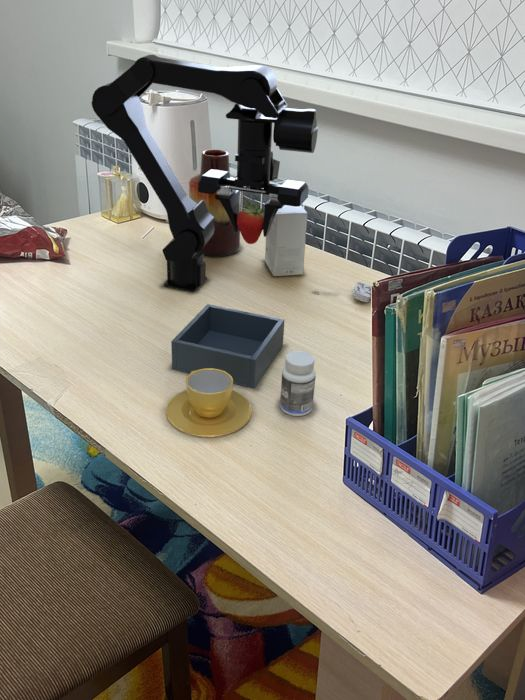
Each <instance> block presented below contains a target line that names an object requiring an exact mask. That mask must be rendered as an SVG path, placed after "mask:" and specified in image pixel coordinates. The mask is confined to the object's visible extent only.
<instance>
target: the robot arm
mask: <svg viewBox="0 0 525 700" xmlns="http://www.w3.org/2000/svg"><path fill="white" fill-rule="evenodd" d="M277 81H278V80H277V78H276V75H275V73H274V72H273V71H272V69H271V68H269V67H268V66H265V65H260V64H259V65H239V66H231V67H230V66H229V67H228V66H227V67H226V66H225V67H221V66H215V65H210V64H203V63H197V62H192V61H191V62H190V61H185V60H179V59H173V58H166V57H161V56H158V55H155V54H148V55H147V54H146V55H143V56H141V57H139V58H138V59H136V61H135V62H134V63H133V64H132V65H131V66H130V67H129V68H128V69H126V71H124V72H123V73H121V75H119V76H118V77H117V78H115V79H114V80H113V81H111V82H109V83H107V84H103V85H102V86H99V87H97V88H96V89H95V90H94V92H93V94H92V98H91V108H92V110H93V112H94V114H95V115H96V116H97V117H98V119H99V120H100V121H101V122H102V123H103V125H104V126H105V127H106V128H107V129H108V130H110V132H112V133H113V134H115V135H116V136H117V137H119V139H121V140H122V141H123V142H124V144H125V146H126V147H127V149H128V150H129V152H130V154H131V155H132V157H133V159H134V161H135V162H136V163H137V165H138V167H139V168H140V170H141V172H142V173H143V175H144V176H145V179H146V180H147V182H148V183H149V186H151V188H152V190H153V191H154V193H155V195H156V196H157V198H158V199H159V201H160V203H161V205H162V206H163V207H164V209H165V211H166V215H167V222H168V227H169V231H170V233H171V236H172V237H173V238H172V239H171V240H170V241H169V242H168V243H167V244H166V245H165V246H164V247H163V248H162V249H161V250H162V253H163V256H164V259H165V260H166V278H167V279H166V281H164V282H163V287H166V288H169V289H174V290H180V291H184V292H185V291H186V292H190V293H194V292H197V290H198V289H199V288H200V287H201V286H202V285H204V283H206V281H208V276H207V266H206V265H207V263H206V260H204V256H203V253H202V252H199V251H200V250H201V249H202V248H203V247H204V246H205V245H206V243H207V242H208V241H209V240H210V239H211V237H212V236H213V234H214V229H215V226H214V223H213V221H212V220H213V219H214V217H213V216H212V215H211V214H210V212H209V211H208V209H207V207H206V204H205V202H204V201H203V200H201V201H200V202H199V203H198V204H197V203H196V202H194V201H193V200H192V199H190V198H189V195H188V194H187V192H186V191H185V189H184V187H183V186H182V184H181V183H180V180H179V178H178V177H177V175H176V173H175V172H174V170H173V169H172V167H171V165H170V164H169V162H168V160H167V158H166V156H165V155H164V154H163V152H162V150H161V149H160V147H159V145H158V143H157V142H156V140H155V139H154V137H153V135H152V134H151V131H150V130H149V129H148V127H147V123H146V117H145V113H144V107H143V104H142V102H141V99H140V97H141V96H142V95H143V94H144V93H146V91H147V90H148V89H149V88H150V87H151V86H152V85H153V84H155V85H156V84H157V85H162V86H169V87H173V88H179V89H187V90H193V91H198V92H204V93H209V94H214V95H218V96H220V97H222V98H224V99H226V100H227V101H229V102H231V103H234V106H233V107H232V109H231V110H230V111H229V112H227V113H226V114H225V118H226V119H229V120H237V153H236V154H235V155H234V162H236V179H233V178H230V175H231V173H230V174H229V172H228V171H220V170H213V169H211V170H209V171H208V172H206V173H205V174H203V175H202V176H201V177H200V178H199V181H198V191H199V192H200V193H207V194H215V193H216V192H217V195H215V199H217V200H220V202H221V204H222V205H223V207H224V209H225V211H226V212H227V214H228V216H229V219H230V221H231V223H232V226H233V228H234V230H235V232H238V231H239V228H238V226H237V216H238V214H239V198H240V192H241V193H242V192H246V193H253V194H258V195H259V194H260V195H267V196H268V198H269V199H268V200H267V201H266V202H265V204H264V209H265V210H264V212H263V215H264V224H263V230H262V232H263V233H262V234H263V237H265V238H266V236H267V235H268V232H269V230H270V227H271V225H272V222H273V220H274V217H275V215H276V213H277V211H278V209H281V208H282V207H283V206H284V205H288V206H295V207H297V206H303V204H304V202H305V201H306V200H307V199H308V198H309V186H308V184H307V182H306V181H300V180H291V179H286V180H285V181H284V182H283V183H282V184H276V183H271V182H273V181H274V180H278V178H279V171H280V165H281V161H279V160H277V159H275V158H274V153H273V152H274V151H273V149H272V141H273V143H274V144H275V147H278V149H279V150H280V151H289V152H298V153H299V152H300V153H309V154H314V152H315V149H316V146H317V139H318V133H319V132H318V131H319V127H317V126H318V124H317V123H318V121H317V110H316V109H315V108H305V109H301V108H290V107H289V105H288V103H287V102H286V100H285V98H284V97H283V95H282V94H281V92H280V90H279V89H278V82H277ZM272 139H273V140H272Z"/></svg>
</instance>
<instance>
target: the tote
mask: <svg viewBox="0 0 525 700" xmlns="http://www.w3.org/2000/svg"><path fill="white" fill-rule="evenodd" d="M284 334H285V319H283V318H279V317H274V316H268V315H264V314H258V313H255V312H248V311H244V310H239V309H234V308H229V307H225V306H220V305H215V304H209V303H207V304H206V305H205V306H204V307H203V308H202V309H201V310H200V311H199V312H198V313H197V314H196V315H195V316H194V317H193V318H192V319H191V320H190V321H189V322H188V323H187V324H186V325H185V326H184V327H183V328H182V329H181V331H179V333H177V335H176V336H175V337H174V338H173V339H172V340H171V342H170V344H171V346H170V348H171V369H172V370H173V371H179V372H184V373H186V374H187V373H188V374H190V373H191V371H194V370H200V369H206V368H213V369H219V370H222V371H225V372H227V373H228V374H230V375H231V377H232V378H233V385H238V386H243V387H246V388H251V389H256V387H257V386H258V384H259V382H260V381H261V379H262V378H263V376H264V375H265V374H266V372H267V371H268V369H269V368H270V366H271V365H272V363H273V362H274V360H275V359H276V357H277V356H278V354H279V353H280V351H281V350H282V348H283V346H284V336H285V335H284Z"/></svg>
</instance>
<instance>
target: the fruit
mask: <svg viewBox="0 0 525 700" xmlns="http://www.w3.org/2000/svg"><path fill="white" fill-rule="evenodd" d="M243 203H244V206H245V207H246V208H244V209H243V210H241V212H239V214H238V216H237V226H238V228H239V230H240V236H241V237H242V239H243V240H244V242H245V243H247V244H249V245H254V244H256V243H257V242H258V240H259V239H260V237H261V234H262V232H263V224H264V210H265V207H262V208H259V203H258V201H256V203H255V204H254V203H253V201H251V202H250V203H249V204H248V202H247V201H244V202H243Z"/></svg>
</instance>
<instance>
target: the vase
mask: <svg viewBox="0 0 525 700" xmlns="http://www.w3.org/2000/svg"><path fill="white" fill-rule="evenodd" d="M211 169H213V170H220V171H228V172H229V174H230V178H233V179H236V178H237V176H235V175H232V174H231V172H230V171H231V170H230V155H229V152H228V151H226V150H224V149H214V148H213V149H205V150H203V151H201V160H200V171H199V172H200V173H198V174H196V175H194V176H192V177H190V179H189V180H188V197H189V198H190V199H192V200H193V201H194V202H196V203H197V204H198V203H199V202H200V201H201V200H203V201H204V202H205V204H206V207H207V209H208V211H209V212H210V214H211V215H212V216H213V217H214V219H213V220H212V221H213V223H214V226H215V229H214V234H213V236H212V237H211V239H210V240H209V241H208V242H207V243H206V245H205V246H204V247H203V248H202V249H201V250H200V251H199V252H202V253H203V257H212V258H222V257H227V256H231V255H234V254H236V253H237V252H238V251H239V250H240V246H241V232H240V230H239V231H238V232H235V230H234V228H233V226H232V223H231V221H230V219H229V216H228V214H227V212H226V211H225V209H224V207H223V205H222V204H221V202H220V200H217V199H215V195H217V192H216V193H215V194H207V193H200V192H199V191H198V181H199V178H200V177H201V176H202V175H203V174H205V173H206V172H208V171H209V170H211ZM241 205H242V191H241V192H240V198H239V212H241V211H242V210H241V209H242V206H241Z"/></svg>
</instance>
